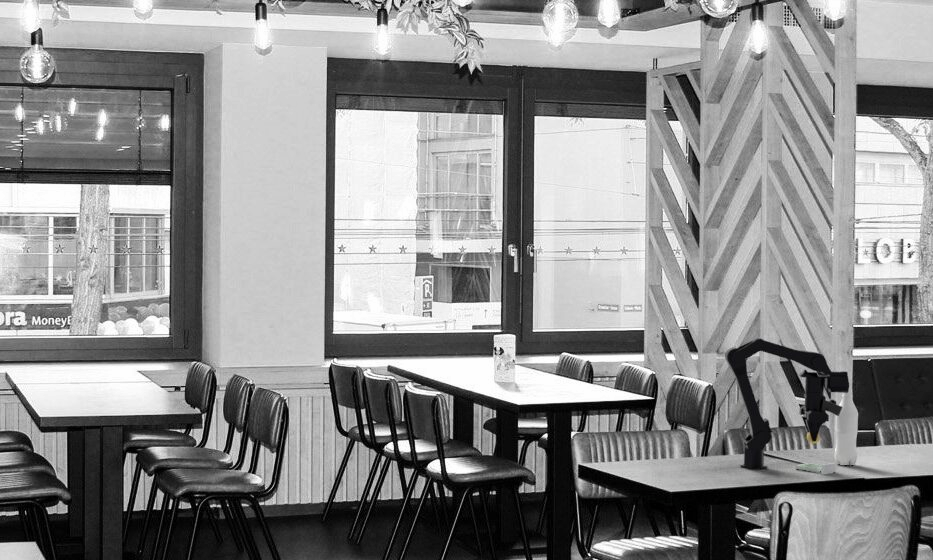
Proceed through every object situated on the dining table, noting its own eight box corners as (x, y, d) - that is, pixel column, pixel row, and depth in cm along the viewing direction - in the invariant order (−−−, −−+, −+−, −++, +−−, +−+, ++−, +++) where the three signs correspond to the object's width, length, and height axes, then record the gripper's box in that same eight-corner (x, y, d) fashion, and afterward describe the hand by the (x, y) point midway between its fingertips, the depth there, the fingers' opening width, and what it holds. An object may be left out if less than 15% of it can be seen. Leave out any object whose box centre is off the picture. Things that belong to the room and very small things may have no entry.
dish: (816, 472, 369) (817, 468, 369) (795, 469, 375) (795, 465, 375) (829, 470, 374) (829, 466, 374) (808, 467, 380) (808, 463, 380)
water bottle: (858, 467, 383) (860, 390, 383) (835, 466, 384) (837, 389, 384) (855, 463, 390) (857, 388, 390) (833, 462, 391) (835, 387, 391)
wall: (824, 474, 366) (824, 465, 366) (821, 474, 367) (821, 464, 367) (835, 472, 371) (835, 463, 371) (832, 472, 372) (833, 462, 372)
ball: (820, 444, 372) (820, 432, 372) (807, 444, 373) (808, 431, 373) (818, 443, 376) (818, 430, 376) (805, 442, 377) (805, 430, 377)
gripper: (846, 395, 364) (844, 445, 364) (834, 389, 383) (833, 437, 383) (809, 394, 366) (807, 444, 366) (799, 388, 384) (798, 436, 384)
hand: (812, 440), depth 375 cm, fingers closed on ball, 4 cm apart
